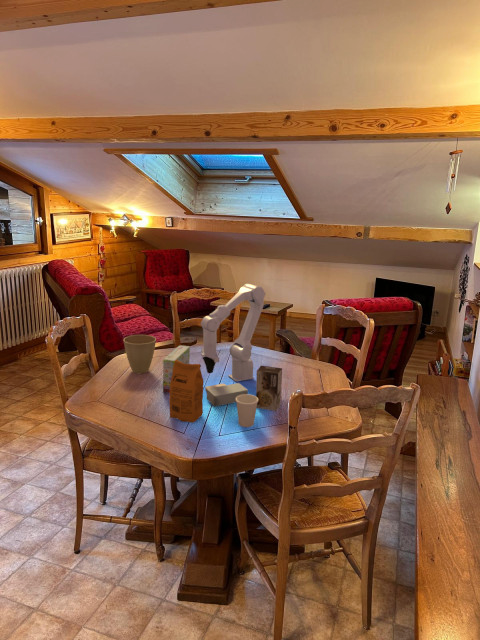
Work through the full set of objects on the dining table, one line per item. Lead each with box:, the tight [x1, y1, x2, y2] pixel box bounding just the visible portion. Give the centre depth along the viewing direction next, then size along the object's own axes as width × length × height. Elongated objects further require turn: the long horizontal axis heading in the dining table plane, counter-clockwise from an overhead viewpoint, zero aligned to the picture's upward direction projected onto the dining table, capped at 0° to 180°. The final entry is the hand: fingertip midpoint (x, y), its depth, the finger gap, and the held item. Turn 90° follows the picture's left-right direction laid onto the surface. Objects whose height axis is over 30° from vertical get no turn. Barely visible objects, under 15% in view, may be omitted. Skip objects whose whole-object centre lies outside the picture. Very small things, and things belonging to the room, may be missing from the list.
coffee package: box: [168, 360, 204, 424], centre depth 173 cm, size 10×12×22 cm
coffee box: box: [255, 365, 283, 412], centre depth 184 cm, size 9×6×16 cm
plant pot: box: [123, 334, 157, 374], centre depth 218 cm, size 15×15×16 cm
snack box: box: [162, 345, 191, 394], centre depth 204 cm, size 21×6×15 cm, turn 168°
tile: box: [204, 383, 226, 392], centre depth 197 cm, size 9×13×2 cm
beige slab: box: [206, 382, 249, 407], centre depth 191 cm, size 15×8×4 cm, turn 118°
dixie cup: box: [235, 393, 258, 428], centre depth 170 cm, size 8×8×10 cm
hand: (210, 372), depth 205 cm, fingers closed
